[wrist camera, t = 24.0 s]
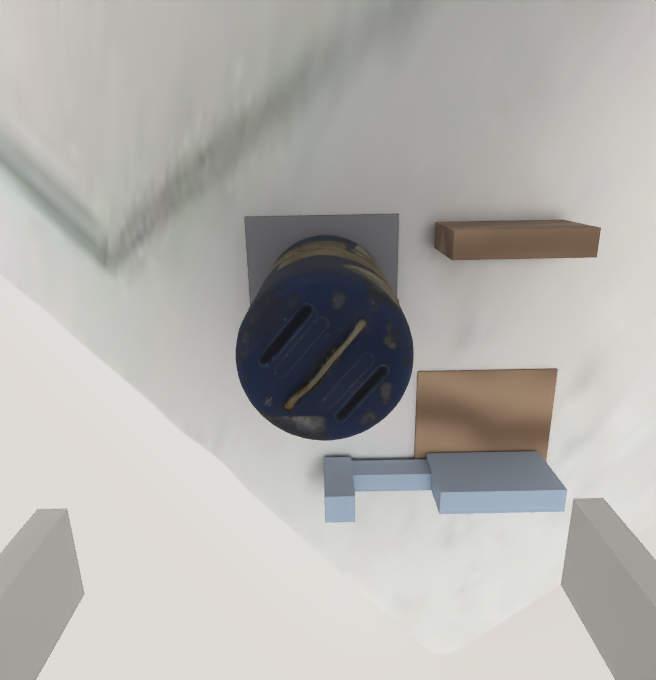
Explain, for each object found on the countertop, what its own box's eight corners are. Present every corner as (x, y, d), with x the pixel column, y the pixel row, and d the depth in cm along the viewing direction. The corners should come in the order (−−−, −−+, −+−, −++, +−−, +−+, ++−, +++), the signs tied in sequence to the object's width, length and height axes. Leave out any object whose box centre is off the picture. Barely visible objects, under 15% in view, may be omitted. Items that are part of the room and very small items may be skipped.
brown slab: (423, 222, 41) (439, 231, 36) (575, 219, 41) (615, 227, 36) (413, 472, 48) (425, 512, 43) (543, 469, 48) (573, 509, 43)
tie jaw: (324, 455, 47) (324, 494, 41) (537, 451, 47) (567, 489, 41) (325, 480, 48) (325, 522, 42) (534, 476, 48) (563, 517, 42)
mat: (245, 216, 41) (244, 217, 41) (398, 213, 41) (398, 214, 41) (254, 360, 45) (253, 361, 44) (394, 357, 45) (395, 359, 44)
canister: (406, 304, 43) (461, 393, 26) (313, 368, 45) (307, 491, 28) (338, 207, 41) (348, 234, 23) (242, 278, 42) (187, 353, 25)
